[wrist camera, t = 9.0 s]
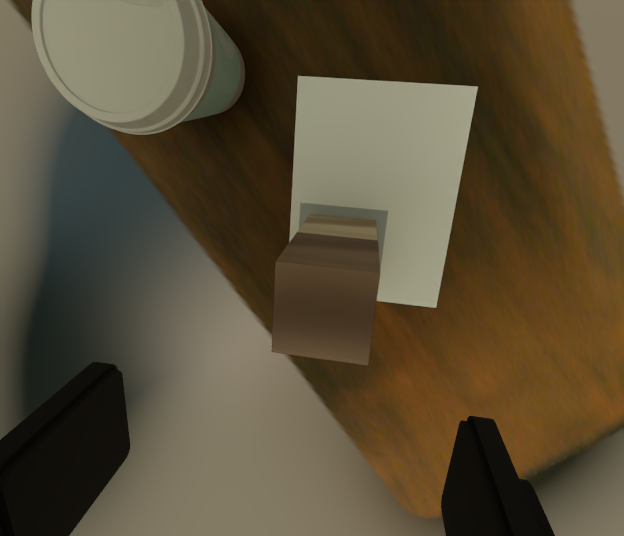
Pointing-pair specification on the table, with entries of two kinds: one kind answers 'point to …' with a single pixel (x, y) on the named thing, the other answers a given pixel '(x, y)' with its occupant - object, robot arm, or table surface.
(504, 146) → the table surface
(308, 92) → the build board
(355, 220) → the beech block
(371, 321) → the walnut block
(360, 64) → the table surface
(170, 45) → the coffee cup
